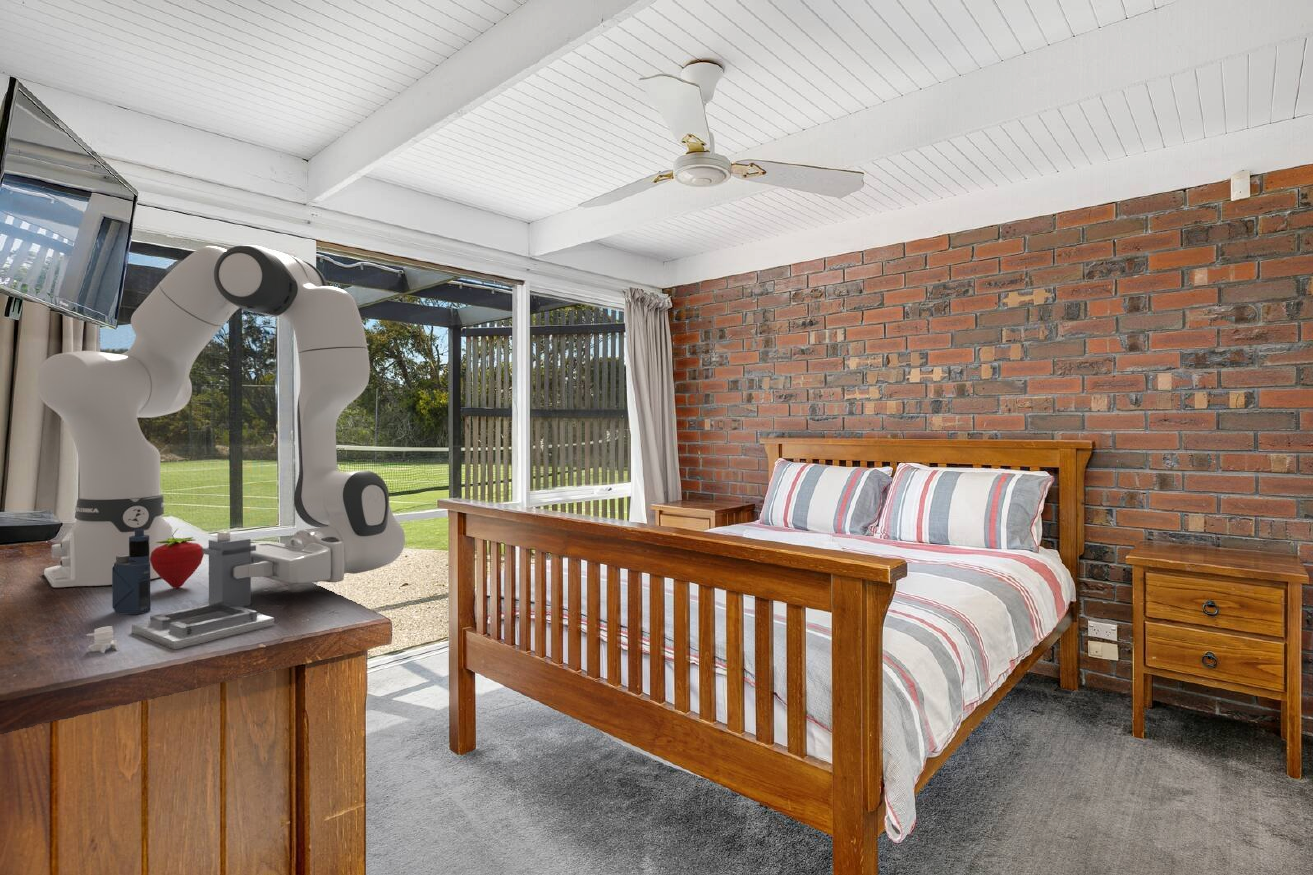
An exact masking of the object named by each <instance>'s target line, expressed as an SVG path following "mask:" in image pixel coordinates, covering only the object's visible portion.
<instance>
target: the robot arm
mask: <svg viewBox="0 0 1313 875" xmlns="http://www.w3.org/2000/svg"><path fill="white" fill-rule="evenodd" d="M239 309H242V310H244V311H246V312H247V311H248V312H251V313H256V314H261V315H264V316H269V317H275V318H276V317H279V318H281V317H282V318H284V319H286V320H287V322H288V323H289V324H290V325H291V326H292V329H293V331H294V334H295V340H296V341H295V342H296V348H297V353H298V354H297V355H298V356H297V357H298V363H299V377H300V379H299V383H300V384H299V394H298V397H297V398H298V399H297V406H296V407H297V408H296V410H297V411H296V417H297V418H296V421H297V422H296V423H297V426H296V427H297V442H298V444H297V445H298V467H299V468H298V470H299V471H298V477H297V482H296V486H295V490H294V495H293V502H294V503H293V504H294V509H295V511H296V514H297V515H298V516H299V518H300V519H301V520H302V521H303V522H304V523H305V524H307V525H309V526H311V527H313V528H307V529H300V530H298V531H296V532H295V533H294V534H293V536H292V537H291V539H289V540H287V541H286V543H282V542H278V541H277V542H276V541H259V542H251V545H256V551H251V564H240V565H234V566H232V567H231V577H234V578H237V579H239V578H245V577H251V578H267V579H269V580H274V581H279V582H283V583H286V584H290V585H304V584H312V583H320V582H325V583H332V584H333V583H339V582H342V581H344V578H345V577H344V576H345V574H353V575H356V574H363V573H366V572H369V571H370V572H371V571H375V570H377V569H381V568H383V567H386V566H388V565H390V564H392V563H394V562H395V561H396V560H397V559H398V558H399V557H400V556H401V555H402V553H403V551H404V548H405V543H406V535H405V530H404V528H403V526H402V525H401V523H400V522H398V520H397V519H396V518H395V516H394V514H393V512H392V508H391V506H390V492H389V488H388V485H387V484H386V482H385V480H384V479H383V478H382V477H381V476H380V475H379V474H377V473H375V472H373V471H370V470H354V471H352V470H351V471H350V470H349V471H343V472H342V471H340V469H339V466H338V459H337V457H338V454H337V433H336V432H337V430H336V428H337V424H338V420H339V417H341V416H340V415H341V414H342V413H343V411H344V410H345V409H346V408H347V407H348V406H349V405H350V404H351V403H353V402H354V401H355V400H356V399H357V398H359V397H360V396H361V395H362V393H363V392H364V391H365V389H366V388H367V386H368V384H369V381H370V374H371V373H370V372H371V366H370V365H371V364H370V358H369V350H368V343H367V337H366V333H365V327H364V324H363V321H362V317H361V313H360V311H359V308H358V305H357V303H356V300H355V299H354V297H353V296H352V295H351V293H349V292H348V291H346V290H344V289H342V288H339V287H336V286H330V285H328V282H327V279H326V277H325V276H324V275H323V273H321V271H320V270H319V269H318V268H317V267H315V266H314V265H313V264H311V263H310V262H307V261H305V260H301V259H299V258H298V257H295V256H294V255H291V254H289V253H286V252H284V251H283V252H282V251H276V250H272V249H268V248H266V247H263V246H260V245H252V244H246V245H244V244H243V245H237V246H233V247H230V248H229V249H225V248H222V247H218V246H214V245H213V246H212V245H207V246H202V247H200V248H198V249H196V250H195V251H193V252H192V253H191V254H189V255H188V256H186V257H185V258H184V259H183V260H182V261H180V262H179V263H178V264H177V265H176V266H175V267H173V268H172V270H170V271H169V272H168V274H166V275H165V276H164V278H162V279H161V281H160V282H159V283H158V284H157V285H156V287H155V288H154V289H152V291H151V292H150V293H149V295H148V296H147V297H146V298H145V299H144V300H143V302H142V303H140V305H139V306H138V307H137V308H136V309H135V310H134V311H133V313H132V315H131V317H130V324H131V328H132V331H133V332H134V334H135V338H134V341H133V344H132V345H131V346H130V348H129V349H128V350H126V351H125V352H123V353H113V352H104V351H103V352H102V351H96V350H79V351H77V350H76V351H68V352H62V353H57V354H53V355H51V356H50V357H48V358H46V359H45V360H44V361H43V362H42V364H41V365H40V366H39V368H38V369H37V373H36V377H35V387H36V391H37V394H38V396H39V398H40V400H41V401H42V402H43V403H44V404H45V405H46V406H47V407H48V408H49V409H50V410H52V411H54V412H55V413H56V414H57V415H58V416H59V417H60V418H61V419H62V420H63V422H64V423H65V426H66V427H67V429H68V431H69V432H70V434H71V436H72V439H73V441H74V444H75V447H76V451H77V455H78V469H79V495H80V496H79V498H77V499H76V500H77V501H76V505H75V507H74V508H75V509H74V511H75V513H74V514H75V515H74V519H76V520H75V522H74V524H73V526H71V528H70V530H68V532H67V533H66V535H65V536H64V537H63V539H62V540H61V541H60V543H58V544H56V543H55V544H52V545H51V559H57V558H60V562H59V563H60V565H55V566H54V565H53V566H50V567H46V568H44V571H43V574H44V577H45V578H46V579H47V581H48V583H49V584H50V586H51V588H66V587H68V588H69V587H86V586H87V587H93V586H96V587H97V586H110V585H111V586H112V568H113V567H114V563H115V562H116V556H118V555H124V554H129V537H130V536H135V530H137V529H144V535H149V541H148V542H149V547H150V557H151V553H152V551H153V550H154V549H155V548H157V547H160V546H162V545H165V544H167V543H156V542H159V541H165V540H168V539H167V538H173V536H174V534H173V533H174V531H173V525H172V524H171V523H170V522H168V521H167V520H165V518H164V517H163V516H162V515H164V514H165V501H164V495H163V494H161V454H160V451H159V449H158V448H157V447H156V446H155V445H154V444H152V443H151V442H149V440H147V439H146V437H145V435H144V433H143V431H142V430H141V426H140V424H139V420H138V418H150V419H151V418H157V417H161V416H167V415H170V414H174V413H177V412H179V411H181V410H183V409H184V408H185V407H186V406H187V405H188V403H189V402H190V400H191V397H192V392H193V385H192V382H191V379H190V373H191V370H192V367H193V365H194V363H195V362H196V359H197V358H198V356H199V355H200V353H201V352H202V351H203V349H205V348H206V346H207V345H208V344H209V343H210V342H211V340H212V339H213V338H214V337H215V335H216V334H217V333H218V332H219V331H220V330H221V329H222V327H223V326H224V325H225V324H226V323H227V321H229V319H230V318H231V317H232V315H234V313H236V312H237V310H239ZM314 527H315V528H314ZM172 535H173V536H172ZM157 578H161V577H160V576H159V575H158V574H157V573H156V571H155V570H154V569H153V567H152V564H151V561H150V580H153V579H157Z"/></svg>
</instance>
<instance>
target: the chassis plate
mask: <svg viewBox="0 0 1313 875" xmlns="http://www.w3.org/2000/svg"><path fill="white" fill-rule="evenodd" d="M149 619H150V620H148V621H143V622H138V623H135V624H131V633H133V634H135V635H137V636H140V637H142V638H145V639H147V640H150V641H152V642H155V643H157V644H159V645H162V646H164V647H167V648H170V649H172V650H174V651H175V650H178V649H179V650H180V649H183V648H187V647H191V646H195V645H199V644H203V643H207V642H211V641H217V640H220V639H224V638H228V637H232V636H237V635H240V634H243V633H249V632H252V631H256V630H261V629H265V628H268V627H272V626H275V618H274V617H272V616H269V615H265V614H262V613H259V612H258V611H256V610H253V609H249V608H246V607H245V606H243V607H241V606H237V605H234V604H231V603H227V602H224V601H223V602H218V603H213V604H209V603H208V604H203V605H200V606H193V607H189V608H185V609H179V610H175V611H174V610H173V611H170V612H165V613H160V614H155V615H151V616H150V618H149Z"/></svg>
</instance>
